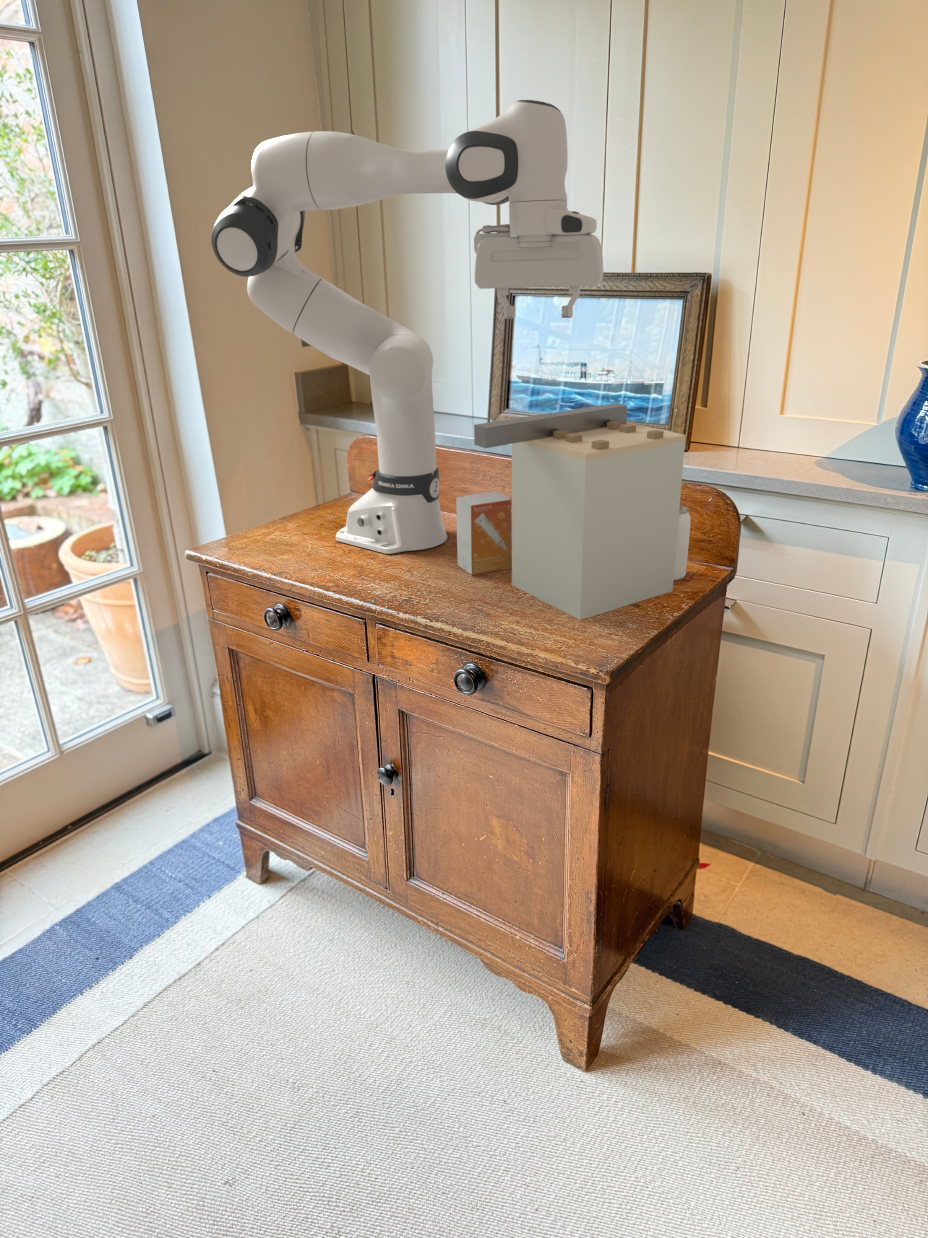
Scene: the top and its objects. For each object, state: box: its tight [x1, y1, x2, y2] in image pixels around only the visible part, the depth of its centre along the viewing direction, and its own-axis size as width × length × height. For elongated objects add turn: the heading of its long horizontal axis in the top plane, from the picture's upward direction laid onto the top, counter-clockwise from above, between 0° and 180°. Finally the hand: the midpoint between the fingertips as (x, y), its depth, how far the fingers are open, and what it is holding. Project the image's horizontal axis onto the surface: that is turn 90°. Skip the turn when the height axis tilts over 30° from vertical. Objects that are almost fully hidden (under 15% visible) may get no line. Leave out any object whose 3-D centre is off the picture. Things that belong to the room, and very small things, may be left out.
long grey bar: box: [473, 402, 628, 449], centre depth 132 cm, size 28×3×3 cm, turn 123°
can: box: [673, 504, 692, 582], centre depth 145 cm, size 6×6×12 cm
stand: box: [511, 421, 686, 621], centre depth 137 cm, size 20×18×27 cm
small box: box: [455, 490, 512, 576], centre depth 151 cm, size 8×6×13 cm
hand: (538, 317), depth 135 cm, fingers open, 8 cm apart
